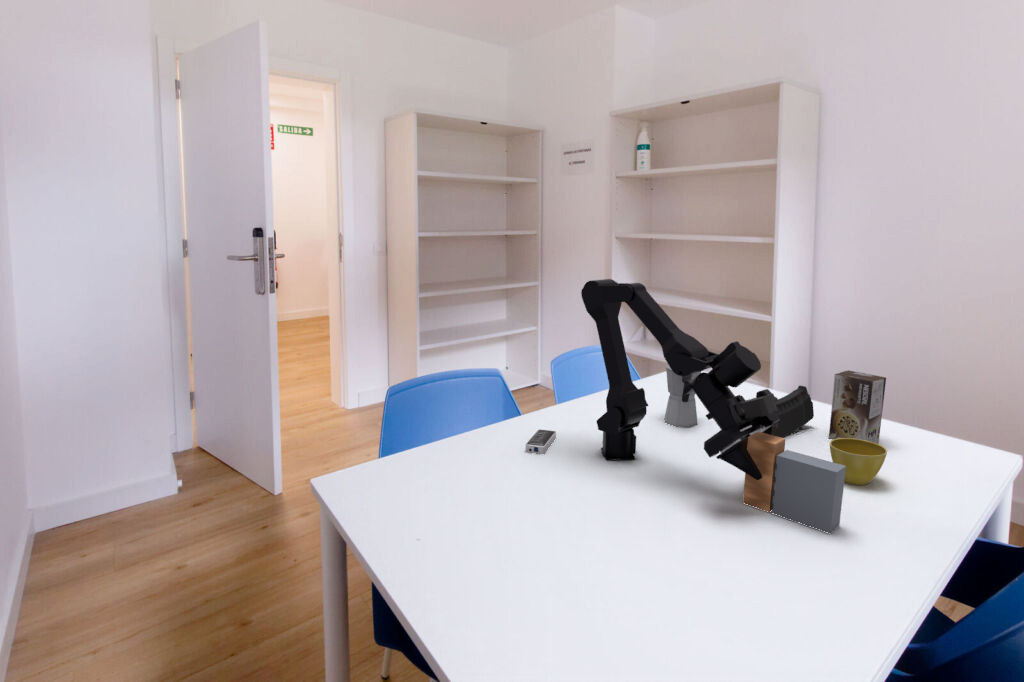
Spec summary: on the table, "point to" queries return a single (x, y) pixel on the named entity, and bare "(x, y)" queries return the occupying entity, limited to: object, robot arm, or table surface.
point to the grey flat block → (808, 490)
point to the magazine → (792, 412)
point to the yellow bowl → (858, 458)
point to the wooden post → (762, 469)
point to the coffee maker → (680, 401)
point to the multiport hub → (540, 441)
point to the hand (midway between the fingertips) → (771, 472)
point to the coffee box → (857, 406)
